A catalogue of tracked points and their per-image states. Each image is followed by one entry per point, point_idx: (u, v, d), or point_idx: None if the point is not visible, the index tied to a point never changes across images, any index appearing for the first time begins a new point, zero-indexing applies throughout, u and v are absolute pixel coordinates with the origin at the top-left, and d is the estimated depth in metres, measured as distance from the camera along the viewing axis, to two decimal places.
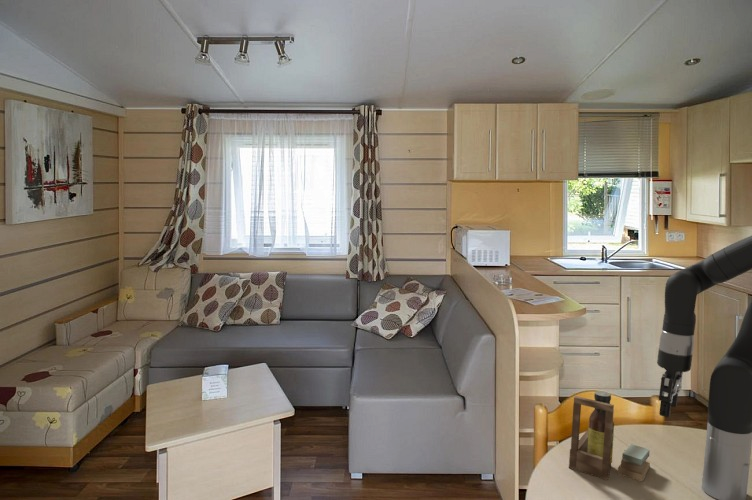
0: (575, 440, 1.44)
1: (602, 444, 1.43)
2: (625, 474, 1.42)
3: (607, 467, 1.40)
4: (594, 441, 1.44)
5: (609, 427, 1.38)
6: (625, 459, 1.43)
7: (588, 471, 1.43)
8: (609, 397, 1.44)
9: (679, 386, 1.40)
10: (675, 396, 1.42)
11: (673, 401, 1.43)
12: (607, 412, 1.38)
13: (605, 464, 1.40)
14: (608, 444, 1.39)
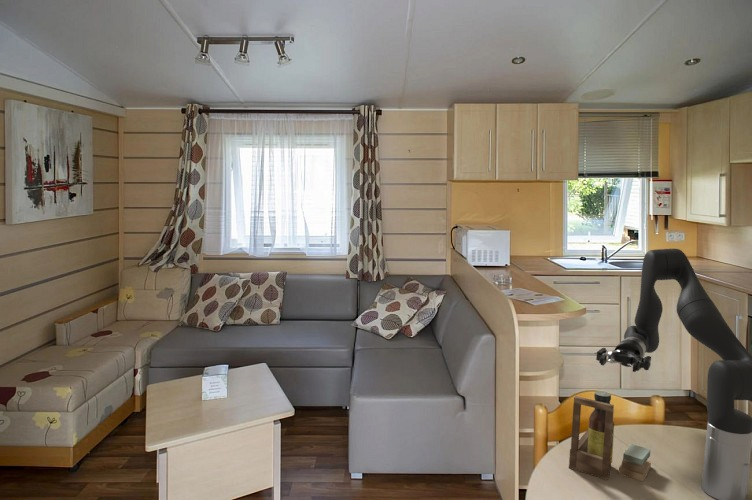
0: (575, 440, 1.44)
1: (602, 444, 1.43)
2: (626, 474, 1.42)
3: (607, 467, 1.40)
4: (594, 441, 1.44)
5: (609, 427, 1.38)
6: (626, 459, 1.43)
7: (588, 471, 1.43)
8: (609, 397, 1.44)
9: (633, 356, 1.59)
10: (635, 363, 1.56)
11: None
12: (607, 412, 1.38)
13: (605, 464, 1.40)
14: (608, 444, 1.39)
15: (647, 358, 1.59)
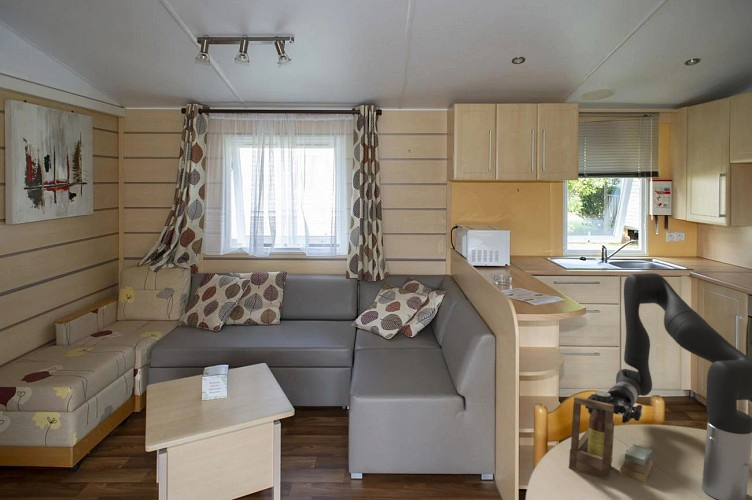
0: (575, 440, 1.44)
1: (602, 444, 1.43)
2: (627, 474, 1.42)
3: (607, 467, 1.40)
4: (594, 441, 1.44)
5: (609, 427, 1.38)
6: (627, 460, 1.43)
7: (588, 471, 1.43)
8: (609, 397, 1.44)
9: (623, 405, 1.53)
10: None
11: None
12: (607, 412, 1.38)
13: (605, 464, 1.40)
14: (608, 444, 1.39)
15: (638, 407, 1.52)
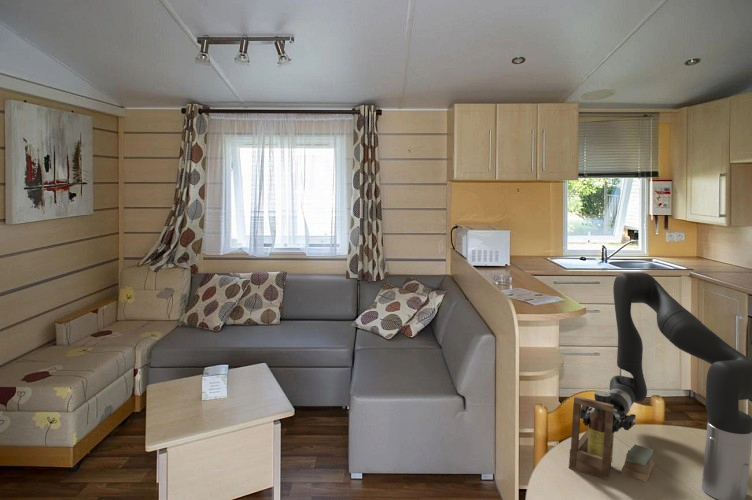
0: (575, 440, 1.44)
1: (602, 444, 1.43)
2: (629, 474, 1.42)
3: (607, 467, 1.40)
4: (594, 441, 1.44)
5: (609, 427, 1.38)
6: (629, 460, 1.43)
7: (588, 471, 1.43)
8: (609, 397, 1.44)
9: (614, 414, 1.47)
10: None
11: None
12: (607, 412, 1.38)
13: (605, 464, 1.40)
14: (608, 444, 1.39)
15: (630, 417, 1.46)
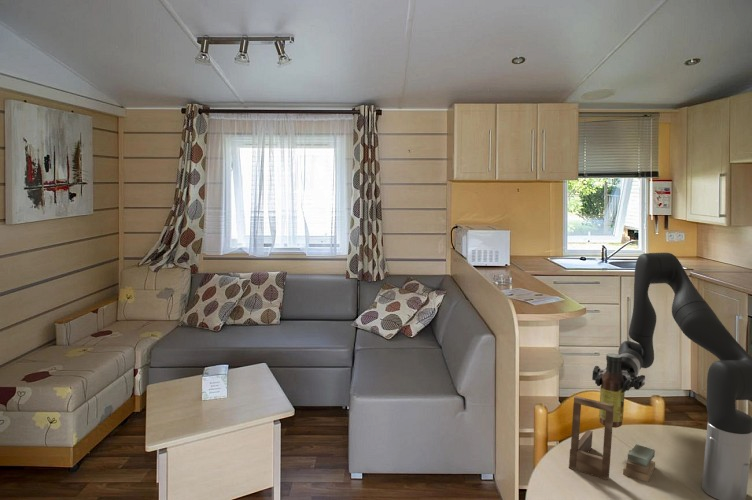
0: (575, 440, 1.44)
1: (614, 403, 1.51)
2: (631, 474, 1.42)
3: (607, 467, 1.40)
4: (606, 400, 1.52)
5: (609, 427, 1.38)
6: (630, 460, 1.43)
7: (588, 471, 1.43)
8: (620, 358, 1.51)
9: (624, 375, 1.55)
10: None
11: None
12: (607, 412, 1.38)
13: (605, 464, 1.40)
14: (608, 444, 1.39)
15: (640, 377, 1.54)
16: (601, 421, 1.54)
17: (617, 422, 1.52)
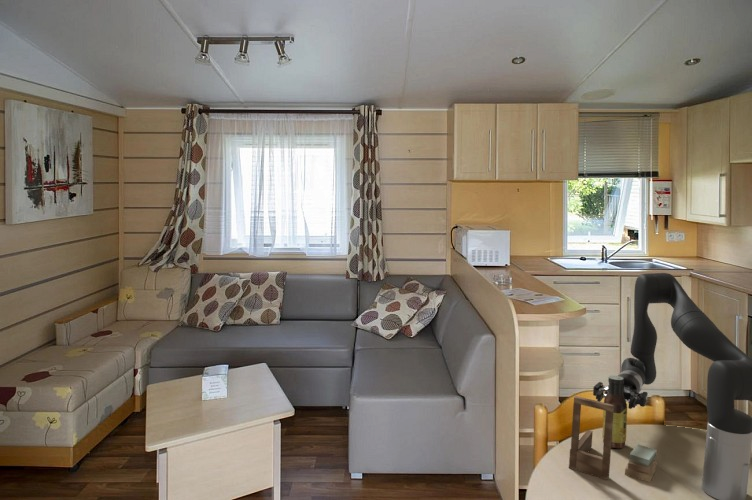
0: (575, 440, 1.44)
1: (617, 424, 1.55)
2: (632, 475, 1.42)
3: (607, 467, 1.40)
4: None
5: (609, 427, 1.38)
6: (632, 460, 1.43)
7: (588, 471, 1.43)
8: (622, 380, 1.56)
9: (629, 392, 1.59)
10: (631, 399, 1.56)
11: None
12: (607, 412, 1.38)
13: (605, 464, 1.40)
14: (608, 444, 1.39)
15: (643, 394, 1.58)
16: None
17: (620, 443, 1.56)
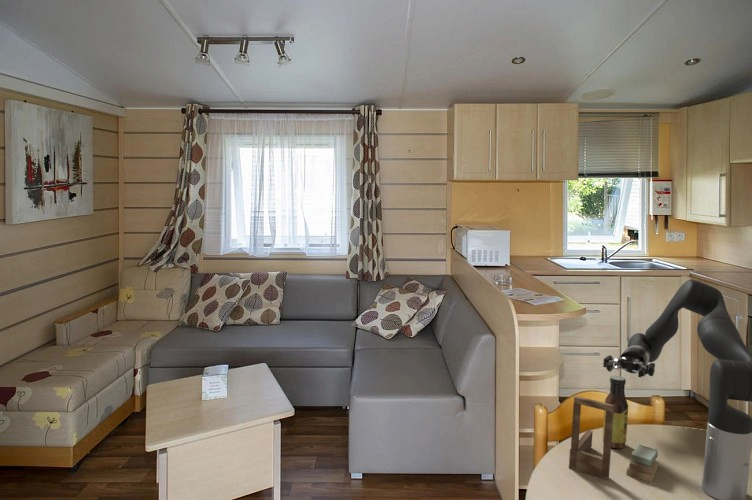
0: (575, 440, 1.44)
1: (617, 424, 1.55)
2: (634, 475, 1.41)
3: (607, 467, 1.40)
4: None
5: (609, 427, 1.38)
6: (634, 460, 1.42)
7: (588, 471, 1.43)
8: (624, 381, 1.55)
9: (638, 363, 1.69)
10: (640, 369, 1.65)
11: None
12: (607, 412, 1.38)
13: (605, 464, 1.40)
14: (608, 444, 1.39)
15: (651, 365, 1.68)
16: None
17: (620, 443, 1.56)
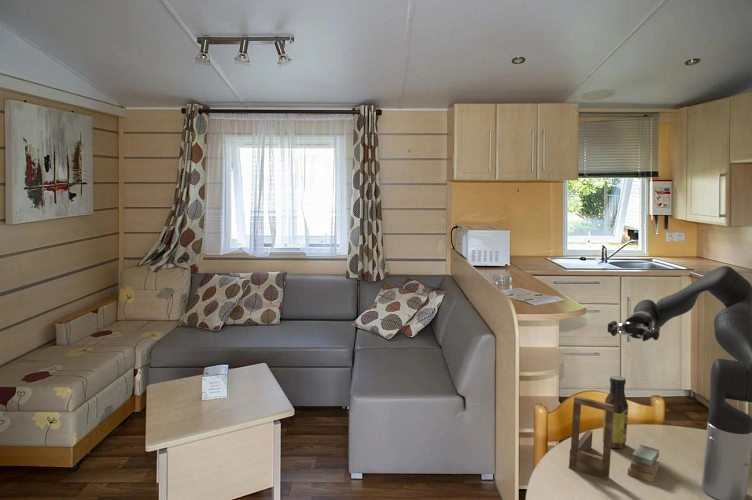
0: (575, 440, 1.44)
1: (617, 424, 1.55)
2: (635, 475, 1.41)
3: (607, 467, 1.40)
4: None
5: (609, 427, 1.38)
6: (635, 460, 1.42)
7: (588, 471, 1.43)
8: (624, 381, 1.56)
9: (642, 327, 1.68)
10: None
11: None
12: (607, 412, 1.38)
13: (605, 464, 1.40)
14: (608, 444, 1.39)
15: (656, 329, 1.67)
16: None
17: (620, 443, 1.56)
